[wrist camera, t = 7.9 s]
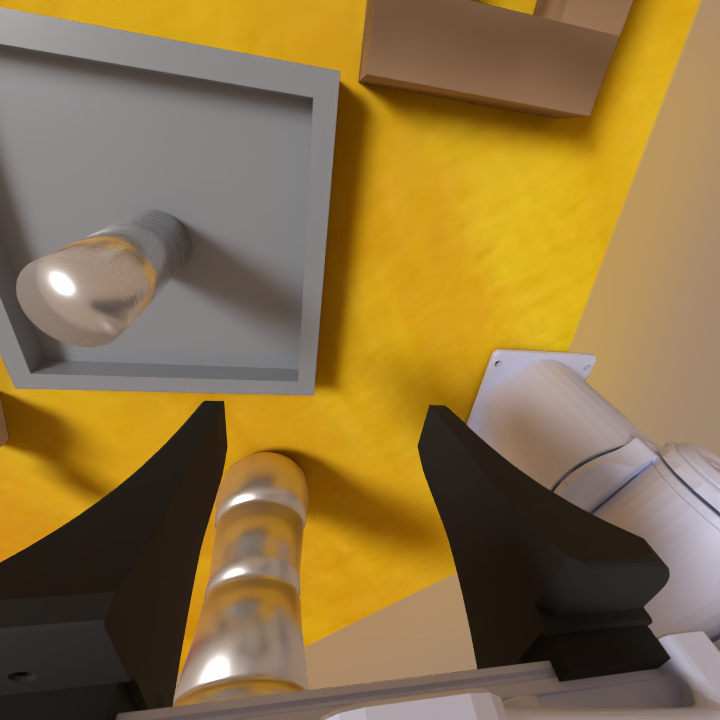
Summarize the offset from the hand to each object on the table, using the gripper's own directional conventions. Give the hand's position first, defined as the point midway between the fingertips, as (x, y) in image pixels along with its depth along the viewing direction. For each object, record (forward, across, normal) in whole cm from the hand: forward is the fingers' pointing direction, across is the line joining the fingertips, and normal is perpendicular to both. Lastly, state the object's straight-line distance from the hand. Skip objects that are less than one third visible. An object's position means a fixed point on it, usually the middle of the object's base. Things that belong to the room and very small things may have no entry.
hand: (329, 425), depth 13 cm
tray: (+10, +8, -3) cm, 13 cm away
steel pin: (+10, +8, -3) cm, 13 cm away
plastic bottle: (+11, +3, +14) cm, 18 cm away
